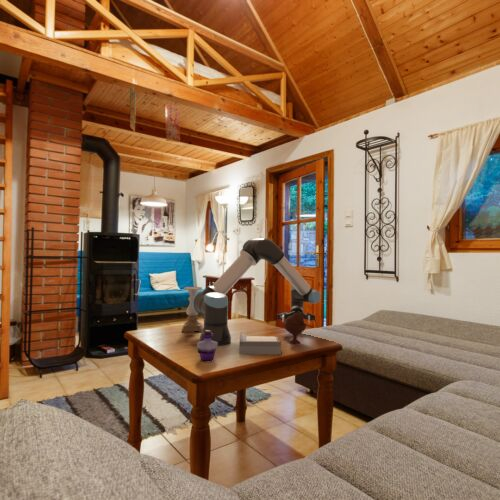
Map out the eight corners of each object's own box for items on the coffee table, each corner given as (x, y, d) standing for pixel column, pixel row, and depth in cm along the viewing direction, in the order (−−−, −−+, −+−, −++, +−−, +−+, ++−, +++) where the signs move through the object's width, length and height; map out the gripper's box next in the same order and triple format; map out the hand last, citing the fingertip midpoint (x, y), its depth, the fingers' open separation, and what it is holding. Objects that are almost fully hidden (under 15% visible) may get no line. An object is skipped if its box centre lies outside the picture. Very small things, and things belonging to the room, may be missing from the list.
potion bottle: (195, 357, 145) (195, 328, 145) (215, 355, 147) (215, 327, 147) (198, 364, 136) (198, 333, 136) (219, 362, 139) (220, 332, 139)
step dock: (239, 354, 150) (239, 341, 150) (239, 343, 168) (239, 332, 168) (280, 354, 150) (281, 341, 150) (276, 343, 168) (277, 332, 168)
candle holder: (183, 328, 200) (184, 286, 200) (202, 327, 201) (203, 286, 202) (181, 332, 189) (182, 288, 190) (201, 332, 191) (202, 288, 191)
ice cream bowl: (301, 339, 177) (301, 310, 177) (309, 345, 166) (309, 314, 166) (281, 340, 175) (281, 310, 175) (288, 346, 164) (288, 314, 164)
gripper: (318, 320, 199) (320, 328, 178) (275, 318, 203) (271, 326, 182) (318, 307, 199) (320, 313, 178) (275, 305, 203) (271, 312, 182)
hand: (295, 320), depth 180 cm, fingers open, 13 cm apart
